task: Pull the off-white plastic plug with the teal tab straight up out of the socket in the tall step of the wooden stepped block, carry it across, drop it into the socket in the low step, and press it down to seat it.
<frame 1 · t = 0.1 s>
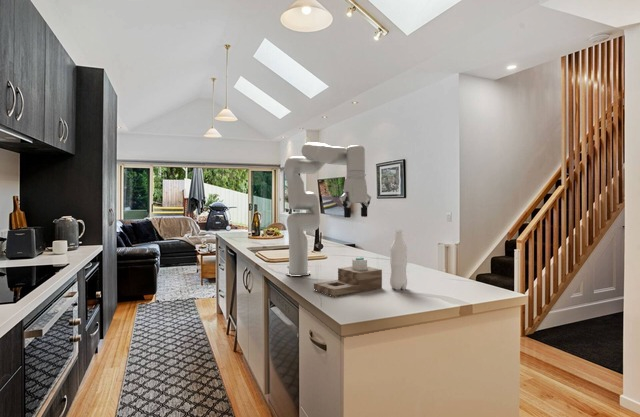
hand: (355, 217, 160), 31 cm above the countertop, tool pointing down, fingers open, 9 cm apart
plug: (359, 275, 168), point 5 cm above the countertop, touching wooden stepped block
wooden stepped block: (348, 289, 165), on the countertop
water bottle: (398, 289, 165), on the countertop
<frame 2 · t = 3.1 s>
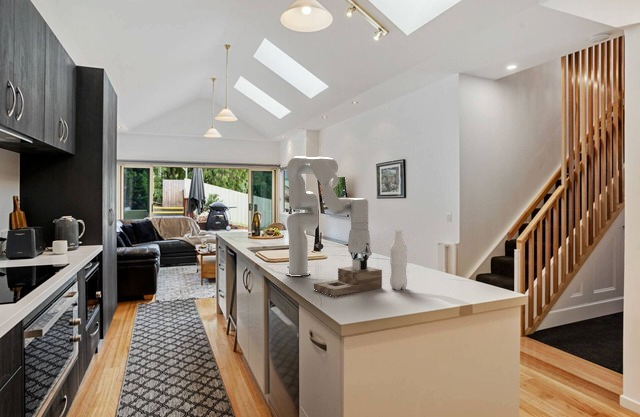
hand: (359, 268, 168), 8 cm above the countertop, tool pointing down, fingers closed on plug, 4 cm apart
plug: (359, 275, 168), point 5 cm above the countertop, touching wooden stepped block, gripper
everything else where it was.
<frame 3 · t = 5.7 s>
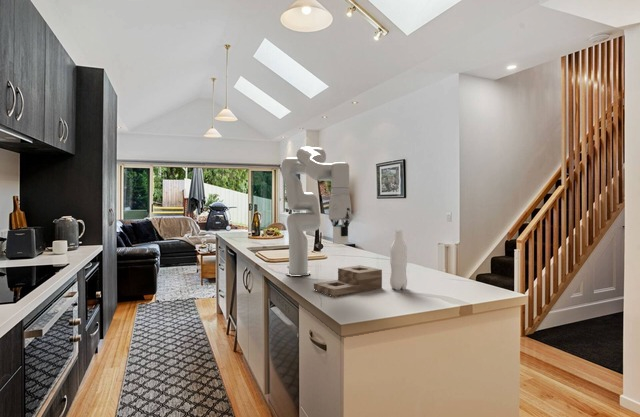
hand: (340, 235, 162), 23 cm above the countertop, tool pointing down, fingers closed on plug, 4 cm apart
plug: (340, 243, 162), point 20 cm above the countertop, touching gripper
everything else where it was.
when the fingers open (5 cm above the countertop, at t = 8.5 s): plug stays where it is, resting on wooden stepped block.
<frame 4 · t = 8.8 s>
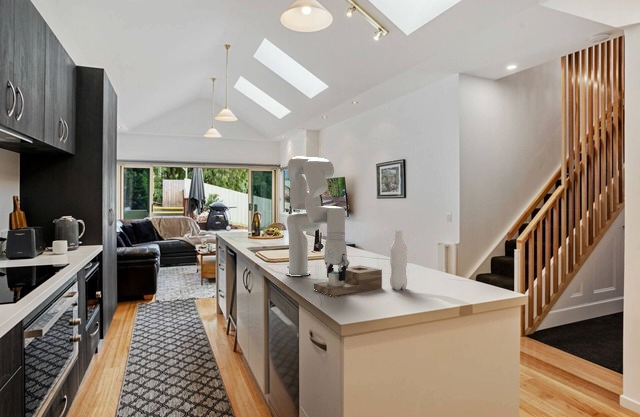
hand: (336, 278, 161), 5 cm above the countertop, tool pointing down, fingers open, 7 cm apart
plug: (336, 290, 161), resting on wooden stepped block
everything else where it was.
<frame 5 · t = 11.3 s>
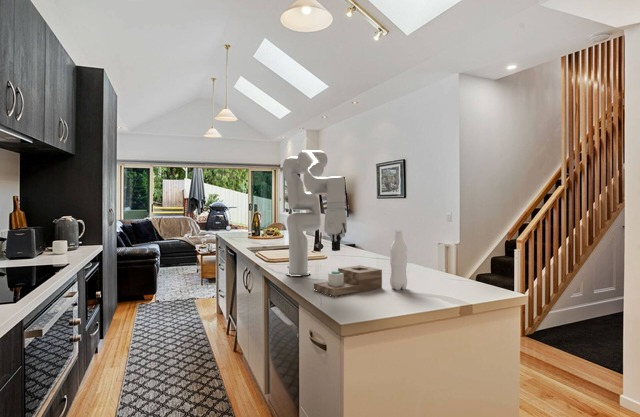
hand: (336, 250, 161), 17 cm above the countertop, tool pointing down, fingers closed
nothing on the countertop moved.
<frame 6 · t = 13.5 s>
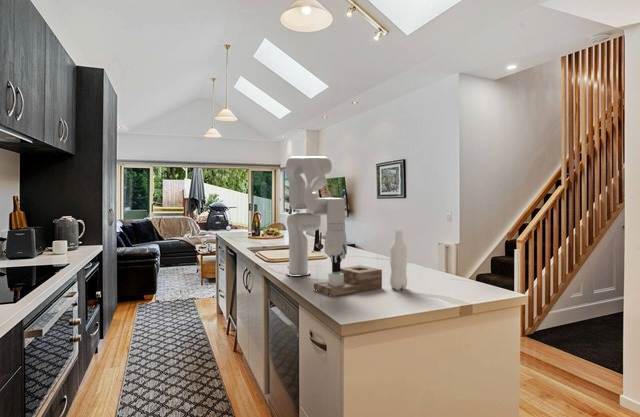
hand: (336, 271, 161), 8 cm above the countertop, tool pointing down, fingers closed
plug: (336, 290, 161), point 1 cm above the countertop, touching wooden stepped block, gripper
everything else where it was.
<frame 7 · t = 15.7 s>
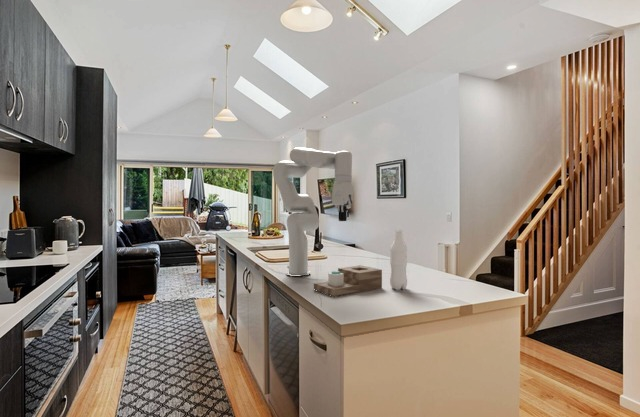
hand: (342, 220, 171), 29 cm above the countertop, tool pointing down, fingers closed
plug: (336, 290, 161), resting on wooden stepped block
everything else where it was.
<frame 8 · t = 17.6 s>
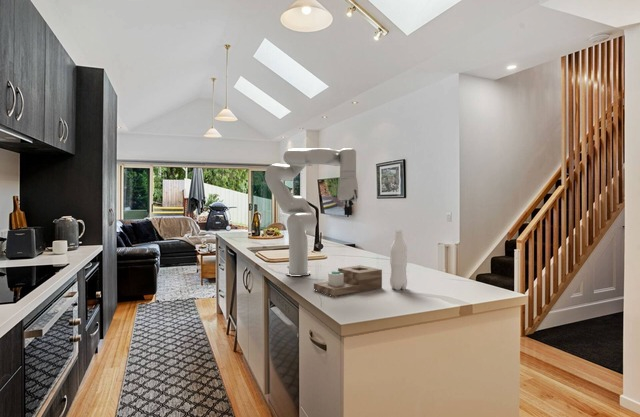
hand: (348, 215, 180), 31 cm above the countertop, tool pointing down, fingers closed
nothing on the countertop moved.
at the end: plug 0.1 cm from the target spot on the wooden stepped block, point 0.5 cm above the wooden stepped block's base; plug tilted 0°; the gripper is holding nothing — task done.
